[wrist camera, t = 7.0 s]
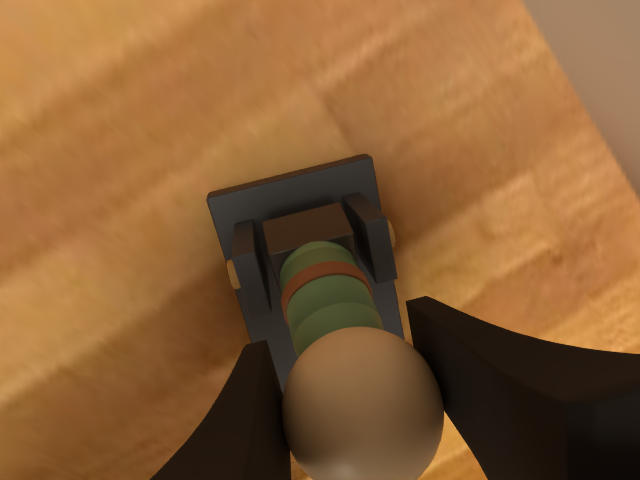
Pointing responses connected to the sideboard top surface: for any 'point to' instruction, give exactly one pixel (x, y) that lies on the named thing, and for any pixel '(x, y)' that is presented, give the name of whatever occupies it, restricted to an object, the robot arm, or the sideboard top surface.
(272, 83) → the sideboard top surface
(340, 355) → the peg doll
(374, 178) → the toy stand
